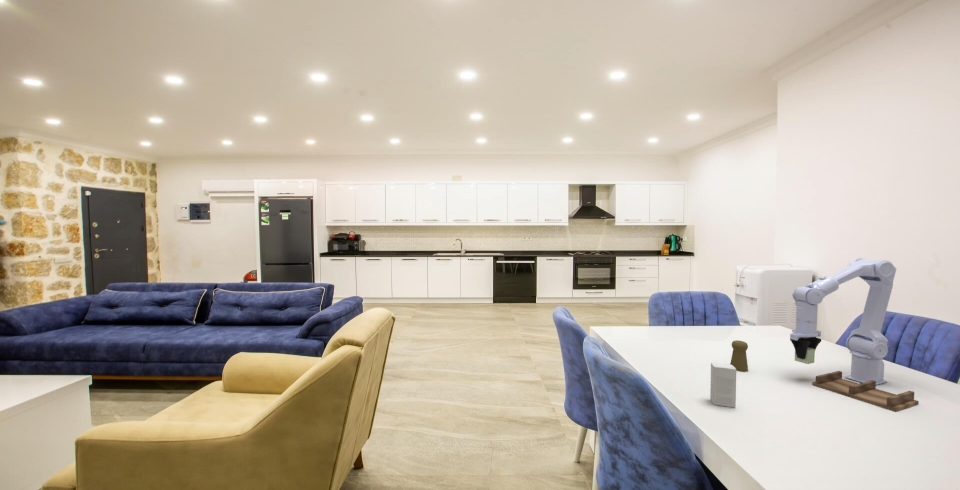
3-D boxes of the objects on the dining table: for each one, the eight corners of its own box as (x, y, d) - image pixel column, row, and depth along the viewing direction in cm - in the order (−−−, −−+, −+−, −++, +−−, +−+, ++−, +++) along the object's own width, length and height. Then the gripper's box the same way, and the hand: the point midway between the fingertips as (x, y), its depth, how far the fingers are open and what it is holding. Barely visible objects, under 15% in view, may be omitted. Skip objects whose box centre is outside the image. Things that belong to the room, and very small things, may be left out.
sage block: (801, 359, 139) (801, 345, 138) (814, 362, 135) (814, 349, 135) (794, 360, 137) (795, 346, 137) (807, 364, 133) (808, 350, 133)
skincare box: (731, 402, 118) (732, 364, 118) (735, 408, 114) (737, 369, 114) (709, 399, 120) (710, 362, 120) (712, 405, 116) (714, 366, 116)
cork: (751, 372, 143) (752, 344, 143) (733, 371, 144) (734, 342, 144) (743, 366, 149) (744, 339, 149) (726, 365, 150) (727, 338, 150)
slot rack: (834, 379, 137) (835, 369, 137) (918, 404, 118) (919, 393, 118) (812, 384, 132) (812, 375, 132) (895, 411, 113) (896, 400, 113)
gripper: (805, 316, 142) (804, 351, 142) (781, 319, 136) (779, 356, 137) (828, 320, 135) (826, 357, 136) (803, 324, 130) (802, 362, 130)
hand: (804, 357), depth 136 cm, fingers closed on sage block, 4 cm apart
